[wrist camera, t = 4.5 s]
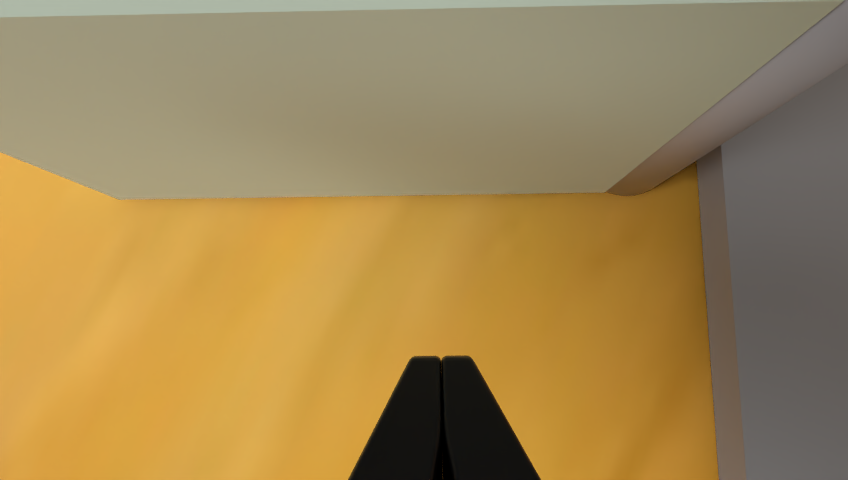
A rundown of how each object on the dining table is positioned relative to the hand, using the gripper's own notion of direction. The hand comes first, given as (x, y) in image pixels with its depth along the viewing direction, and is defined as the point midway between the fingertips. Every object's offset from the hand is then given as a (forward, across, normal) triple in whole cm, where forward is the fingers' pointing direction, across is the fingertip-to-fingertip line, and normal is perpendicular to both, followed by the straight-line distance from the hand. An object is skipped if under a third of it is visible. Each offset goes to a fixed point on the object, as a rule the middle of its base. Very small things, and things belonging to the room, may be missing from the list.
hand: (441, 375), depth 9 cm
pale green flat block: (+9, +1, +2) cm, 9 cm away
